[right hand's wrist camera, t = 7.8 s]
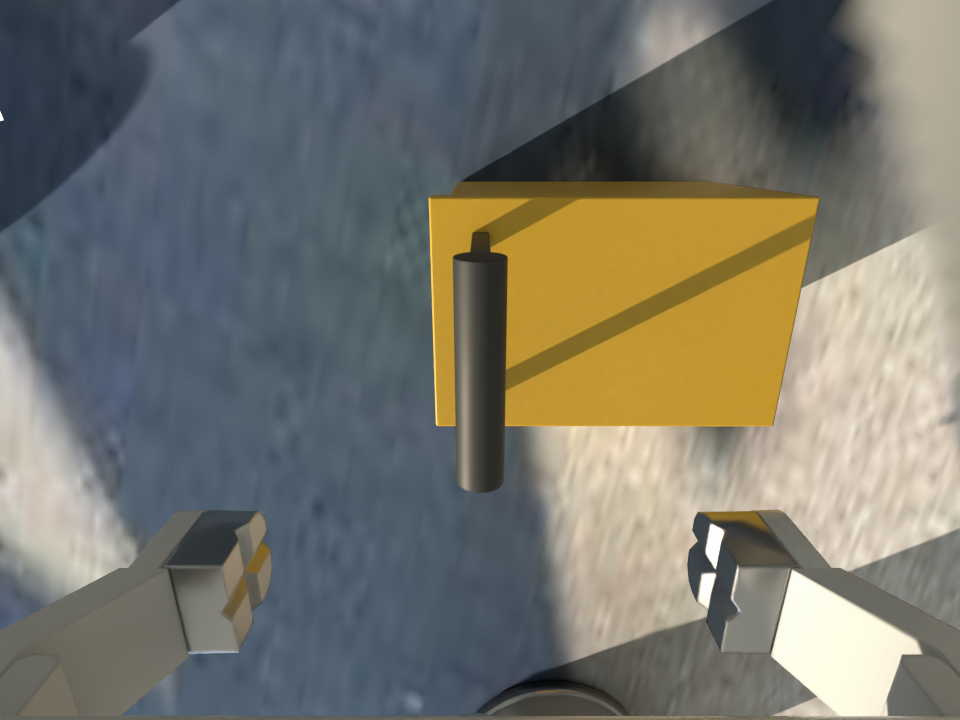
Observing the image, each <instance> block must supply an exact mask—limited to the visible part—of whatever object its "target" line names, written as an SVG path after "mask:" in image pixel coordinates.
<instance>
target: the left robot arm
mask: <svg viewBox="0 0 960 720" xmlns="http://www.w3.org/2000/svg"><path fill="white" fill-rule="evenodd" d="M460 716H628V714H627V713H626V711H625V710H624V709H623V708H622V707H621V706H620V705H619V704H618V703H617V702H616V701H615V700H614V699H612V698H611V697H609V696H608V695H606V694H604V693H602V692H600V691H598V690H596V689H594V688H591V687H588V686H584V685H581V684H576V683H571V682H560V681H547V682H536V683H530V684H526V685H522V686H518V687H515V688H512V689H510V690H507V691H505V692H503V693H501V694H499V695H497V696H496V697H494V698H493V699H491V700H490V701H488V702H487V703H486V704H485V705H483V706H482V707H481V708H480V709H479V710H478V712H477V713H474V714H465V715H460Z"/></svg>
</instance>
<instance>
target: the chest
mask: <svg viewBox="0 0 960 720" xmlns="http://www.w3.org/2000/svg"><path fill="white" fill-rule="evenodd" d="M450 195H801V194H794V193H787V192H780V191H773V190H766V189H759V188H752V187H745V186H737V185H730V184H723V183H716V182H709V181H547V182H459V183H458V184H457V185H456V187H455V188H454V190H453V191H452V192H451V194H450Z"/></svg>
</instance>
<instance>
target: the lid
mask: <svg viewBox="0 0 960 720" xmlns="http://www.w3.org/2000/svg"><path fill="white" fill-rule="evenodd" d="M819 200H820V199H819V197H815V196H808V195H432V196H431V197H430V198H429V219H430V251H431V283H432V315H433V346H434V378H435V410H436V425H437V426H456V478H457V483H458V485H459V486H460V487H461V488H463V489H464V490H467V491H470V492H474V493H487V492H491V491H494V490H496V489H498V488H499V487H501V485H502V484H503V482H504V456H505V426H773V424H774V419H775V414H776V409H777V404H778V399H779V395H780V390H781V385H782V380H783V375H784V370H785V365H786V360H787V356H788V351H789V346H790V341H791V336H792V331H793V326H794V321H795V317H796V312H797V307H798V302H799V297H800V292H801V287H802V282H803V278H804V273H805V268H806V263H807V258H808V253H809V248H810V243H811V239H812V234H813V229H814V224H815V219H816V214H817V209H818V204H819Z"/></svg>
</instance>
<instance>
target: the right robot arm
mask: <svg viewBox="0 0 960 720" xmlns="http://www.w3.org/2000/svg"><path fill="white" fill-rule="evenodd" d="M1 120H3V118H2V115H1V113H0V121H1ZM267 531H268V530H267V525H266V520H265V515H264V514H262V513H261V512H260V511H222V510H208V511H206V510H181V511H179V512H176V513H175V514H174V515H173V516H172V517H171V518H170V519H169V521H168V522H167V523H166V524H165V525H164V526H163V528H162V529H161V530H160V531H159V532H158V533H157V535H156V536H155V537H154V538H153V539H152V541H151V542H150V543H149V544H148V545H147V546H146V548H145V549H144V550H143V551H142V552H141V553H140V555H139V556H138V557H137V558H136V559H135V561H134V562H133V563H132V564H131V565H130V566H129V568H119V569H117V570H115V571H113V572H111V573H109V574H107V575H105V576H104V577H102V578H100V579H98V580H96V581H94V582H92V583H90V584H88V585H86V586H84V587H83V588H81V589H79V590H77V591H75V592H73V593H71V594H69V595H67V596H65V597H63V598H62V599H60V600H58V601H56V602H54V603H52V604H50V605H48V606H46V607H44V608H42V609H41V610H39V611H37V612H35V613H33V614H31V615H29V616H27V617H25V618H23V619H21V620H19V621H18V622H16V623H14V624H12V625H10V626H8V627H6V628H4V629H2V630H0V720H960V631H959V630H957V629H955V628H954V627H952V626H950V625H948V624H946V623H944V622H942V621H940V620H938V619H936V618H935V617H933V616H931V615H929V614H927V613H925V612H923V611H921V610H919V609H917V608H915V607H914V606H912V605H910V604H908V603H906V602H904V601H902V600H900V599H898V598H896V597H895V596H893V595H891V594H889V593H887V592H885V591H883V590H881V589H879V588H877V587H875V586H874V585H872V584H870V583H868V582H866V581H864V580H862V579H860V578H858V577H856V576H855V575H853V574H851V573H849V572H847V571H845V570H843V569H841V568H831V566H830V565H829V564H828V563H827V562H826V561H825V559H824V558H823V557H822V556H821V555H820V554H819V552H818V551H817V550H816V549H815V548H814V546H813V545H812V544H811V543H810V542H809V541H808V539H807V538H806V537H805V536H804V535H803V534H802V532H801V531H800V530H799V529H798V528H797V526H796V525H795V524H794V523H793V522H792V521H791V519H790V518H789V517H788V516H787V515H786V514H785V513H784V512H782V511H780V510H755V511H739V512H698V513H697V515H696V517H695V519H694V524H693V532H694V534H695V536H696V538H697V540H698V542H697V543H696V544H695V545H694V546H693V547H692V548H691V549H690V550H689V556H688V564H687V566H688V577H689V583H690V586H691V590H692V593H693V595H694V597H695V599H696V601H697V603H699V604H700V605H701V606H703V607H704V608H705V609H707V610H708V614H707V620H706V622H707V624H708V626H709V628H710V630H711V632H712V635H713V637H714V639H715V641H716V643H717V645H718V647H719V649H720V651H721V652H722V653H757V654H771V657H772V658H773V659H775V660H776V661H777V662H778V663H779V664H780V665H782V666H783V667H784V668H785V669H786V670H787V671H789V672H790V673H791V674H792V675H793V676H794V677H795V678H797V679H798V680H799V681H800V682H801V683H802V684H804V685H805V686H806V687H807V688H808V689H809V690H810V691H812V692H813V693H814V694H815V695H816V696H817V697H819V698H820V699H821V700H822V701H823V702H824V703H826V704H827V705H828V706H829V707H830V708H831V709H832V710H834V711H835V712H836V713H837V714H838V715H839V716H121V715H122V714H123V713H124V712H125V711H127V710H128V709H129V708H130V707H131V706H132V705H134V704H135V703H136V702H137V701H138V700H139V699H140V698H142V697H143V696H144V695H145V694H146V693H147V692H149V691H150V690H151V689H152V688H153V687H154V686H156V685H157V684H158V683H159V682H160V681H161V680H162V679H164V678H165V677H166V676H167V675H168V674H169V673H171V672H172V671H173V670H174V669H175V668H176V667H178V666H179V665H180V664H181V663H182V662H183V661H184V660H186V659H187V658H188V657H189V654H203V653H237V652H239V651H240V649H241V647H242V645H243V643H244V641H245V639H246V637H247V635H248V633H249V630H250V628H251V626H252V624H253V622H254V620H253V614H252V610H253V609H255V608H256V607H257V606H259V605H260V604H261V603H263V601H264V599H265V597H266V595H267V592H268V590H269V586H270V582H271V577H272V555H271V550H270V549H269V548H268V547H267V546H266V545H265V544H264V543H263V542H262V540H263V538H264V536H265V534H266V532H267Z"/></svg>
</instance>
